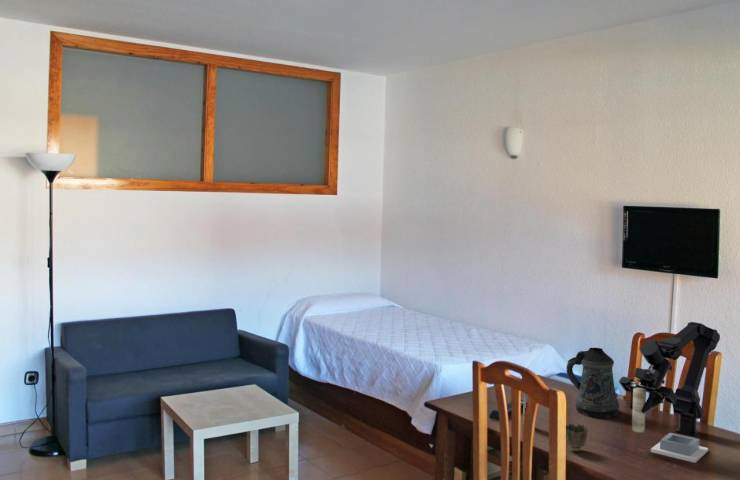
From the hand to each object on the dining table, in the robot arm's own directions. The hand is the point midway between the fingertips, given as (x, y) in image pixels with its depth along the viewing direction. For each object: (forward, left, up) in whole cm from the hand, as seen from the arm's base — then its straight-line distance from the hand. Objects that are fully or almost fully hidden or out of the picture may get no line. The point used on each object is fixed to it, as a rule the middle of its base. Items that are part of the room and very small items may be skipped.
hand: (636, 410), depth 230 cm
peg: (-1, 0, -7) cm, 7 cm away
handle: (+3, -38, -14) cm, 40 cm away
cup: (+13, -15, -14) cm, 24 cm away
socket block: (-10, +11, -14) cm, 20 cm away
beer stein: (-31, -28, -14) cm, 44 cm away
